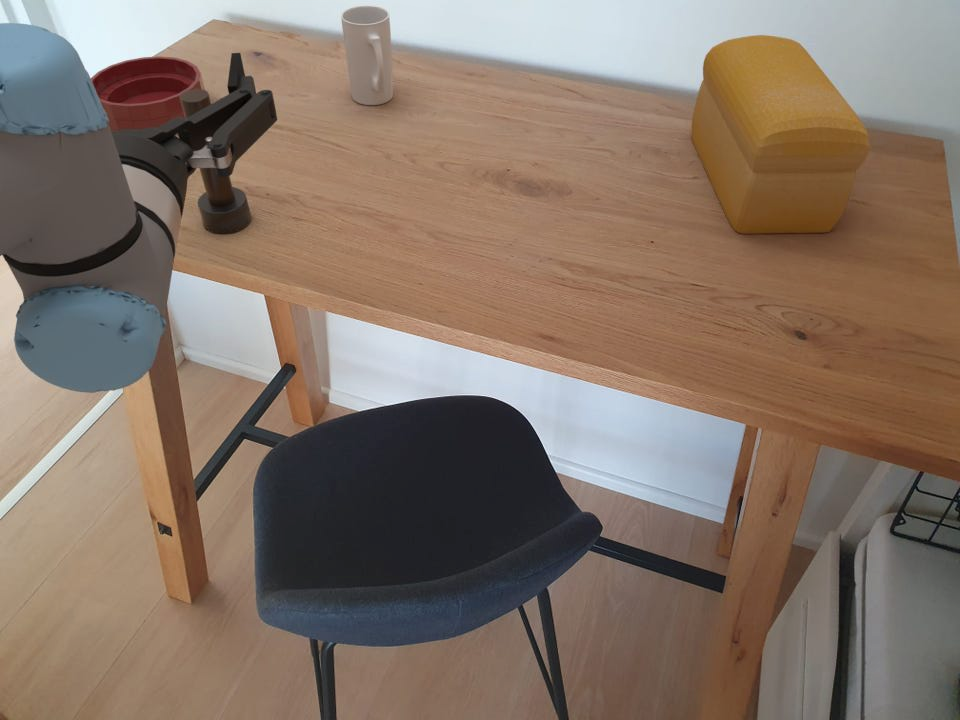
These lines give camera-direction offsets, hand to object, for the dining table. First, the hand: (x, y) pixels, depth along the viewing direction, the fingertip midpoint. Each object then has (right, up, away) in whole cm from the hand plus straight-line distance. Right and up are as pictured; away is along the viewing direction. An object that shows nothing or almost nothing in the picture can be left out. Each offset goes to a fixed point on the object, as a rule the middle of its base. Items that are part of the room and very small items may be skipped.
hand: (161, 71), depth 69 cm
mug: (+13, +13, +46) cm, 50 cm away
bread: (+65, -2, +32) cm, 72 cm away
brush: (-2, -9, +24) cm, 26 cm away
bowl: (-19, +10, +43) cm, 48 cm away
